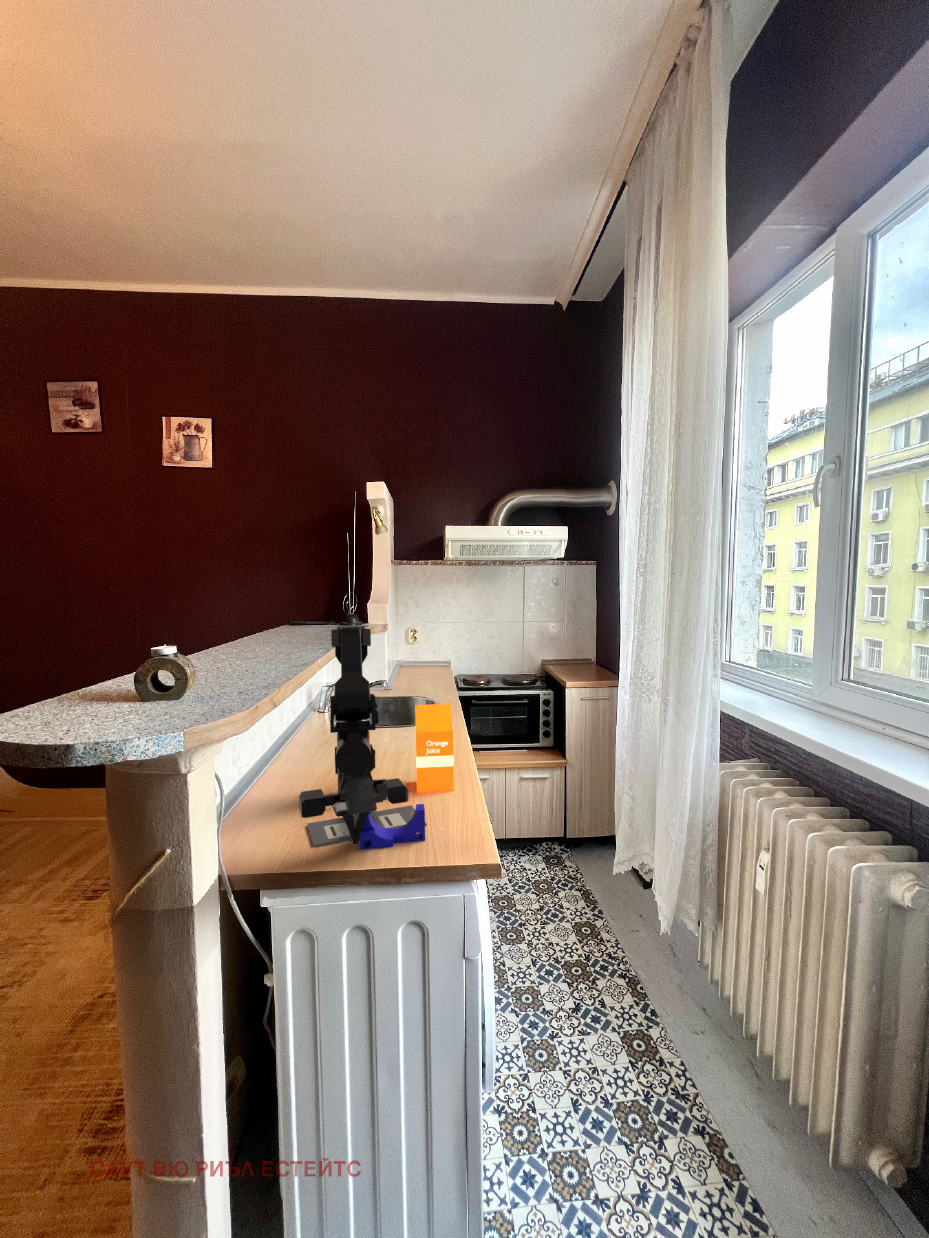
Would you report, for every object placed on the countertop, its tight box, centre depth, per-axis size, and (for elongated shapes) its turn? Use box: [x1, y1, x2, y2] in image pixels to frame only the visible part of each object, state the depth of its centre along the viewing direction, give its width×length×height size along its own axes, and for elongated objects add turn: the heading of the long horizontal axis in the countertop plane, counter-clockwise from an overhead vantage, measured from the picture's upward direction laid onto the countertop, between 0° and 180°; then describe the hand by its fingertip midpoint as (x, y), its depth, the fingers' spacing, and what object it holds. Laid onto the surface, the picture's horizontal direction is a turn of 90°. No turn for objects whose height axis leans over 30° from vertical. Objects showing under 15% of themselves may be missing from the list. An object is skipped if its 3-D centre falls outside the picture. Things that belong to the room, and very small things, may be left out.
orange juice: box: [415, 703, 455, 794], centre depth 128 cm, size 8×9×20 cm
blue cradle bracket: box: [359, 803, 426, 850], centre depth 100 cm, size 12×4×6 cm, turn 98°
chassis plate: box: [306, 805, 428, 848], centre depth 107 cm, size 10×22×1 cm, turn 113°
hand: (354, 843), depth 96 cm, fingers closed
